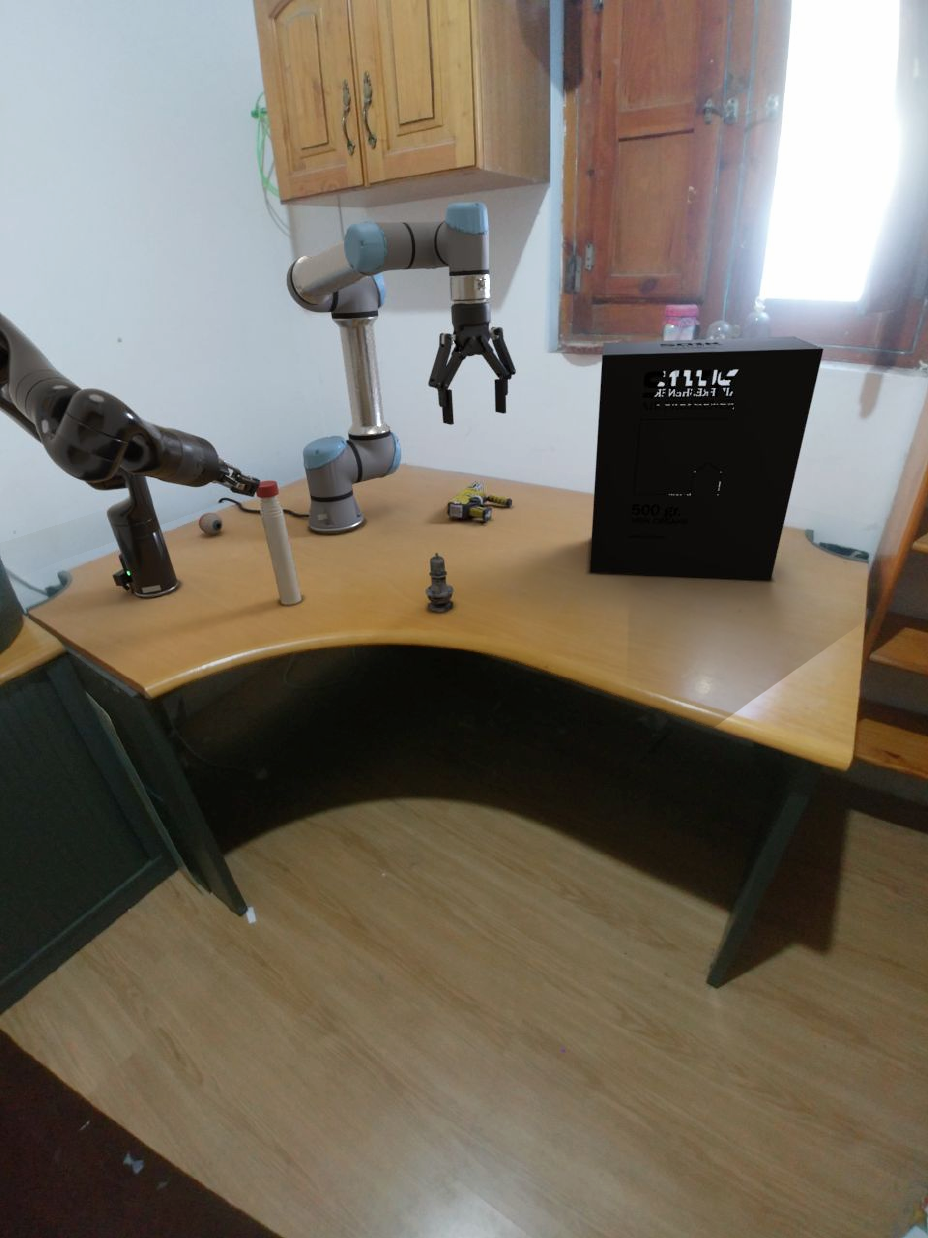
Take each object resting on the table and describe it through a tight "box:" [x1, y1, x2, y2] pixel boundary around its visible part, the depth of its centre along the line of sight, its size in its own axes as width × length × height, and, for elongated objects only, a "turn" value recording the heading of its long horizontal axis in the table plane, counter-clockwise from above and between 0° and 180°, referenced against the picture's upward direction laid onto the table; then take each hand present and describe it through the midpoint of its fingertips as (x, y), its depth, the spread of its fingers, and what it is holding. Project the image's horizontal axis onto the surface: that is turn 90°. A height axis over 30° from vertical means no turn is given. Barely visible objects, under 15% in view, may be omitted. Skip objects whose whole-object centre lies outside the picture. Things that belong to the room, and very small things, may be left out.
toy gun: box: [446, 480, 513, 523], centre depth 174 cm, size 5×24×15 cm
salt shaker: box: [424, 552, 455, 613], centre depth 122 cm, size 6×6×12 cm
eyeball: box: [198, 512, 223, 536], centre depth 167 cm, size 6×6×6 cm
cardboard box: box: [589, 336, 824, 581], centre depth 128 cm, size 38×20×45 cm, turn 78°
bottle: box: [259, 495, 302, 606], centre depth 125 cm, size 4×4×26 cm
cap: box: [255, 480, 280, 499], centre depth 119 cm, size 4×4×2 cm
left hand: (235, 472), depth 103 cm, fingers open, 8 cm apart
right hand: (475, 417), depth 124 cm, fingers open, 13 cm apart
